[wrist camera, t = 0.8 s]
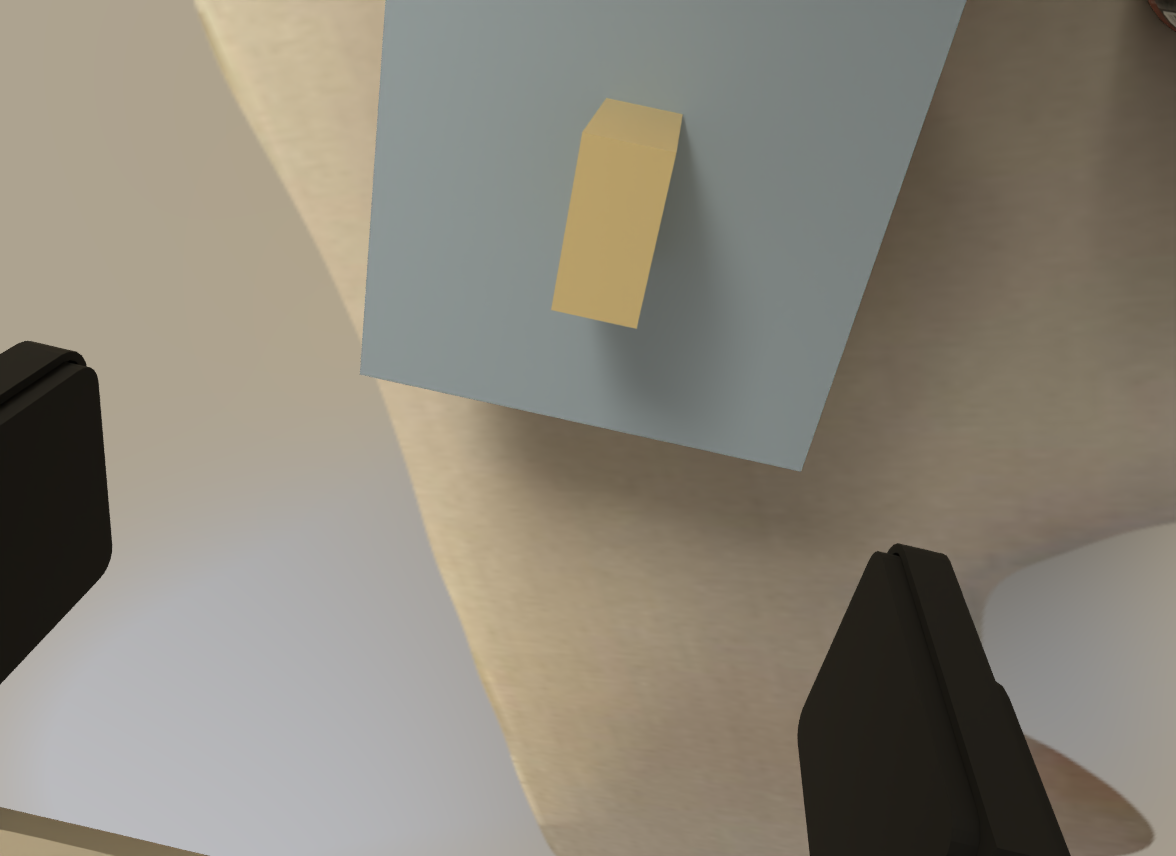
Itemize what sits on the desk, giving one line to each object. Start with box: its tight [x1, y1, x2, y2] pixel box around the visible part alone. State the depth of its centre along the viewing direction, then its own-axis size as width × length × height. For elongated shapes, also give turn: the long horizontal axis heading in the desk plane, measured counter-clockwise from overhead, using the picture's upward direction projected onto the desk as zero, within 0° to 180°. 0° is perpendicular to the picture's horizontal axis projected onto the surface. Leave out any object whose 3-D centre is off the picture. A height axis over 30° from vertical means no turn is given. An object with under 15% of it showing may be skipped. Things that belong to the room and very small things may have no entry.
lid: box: [360, 0, 967, 472], centre depth 22 cm, size 15×14×6 cm
